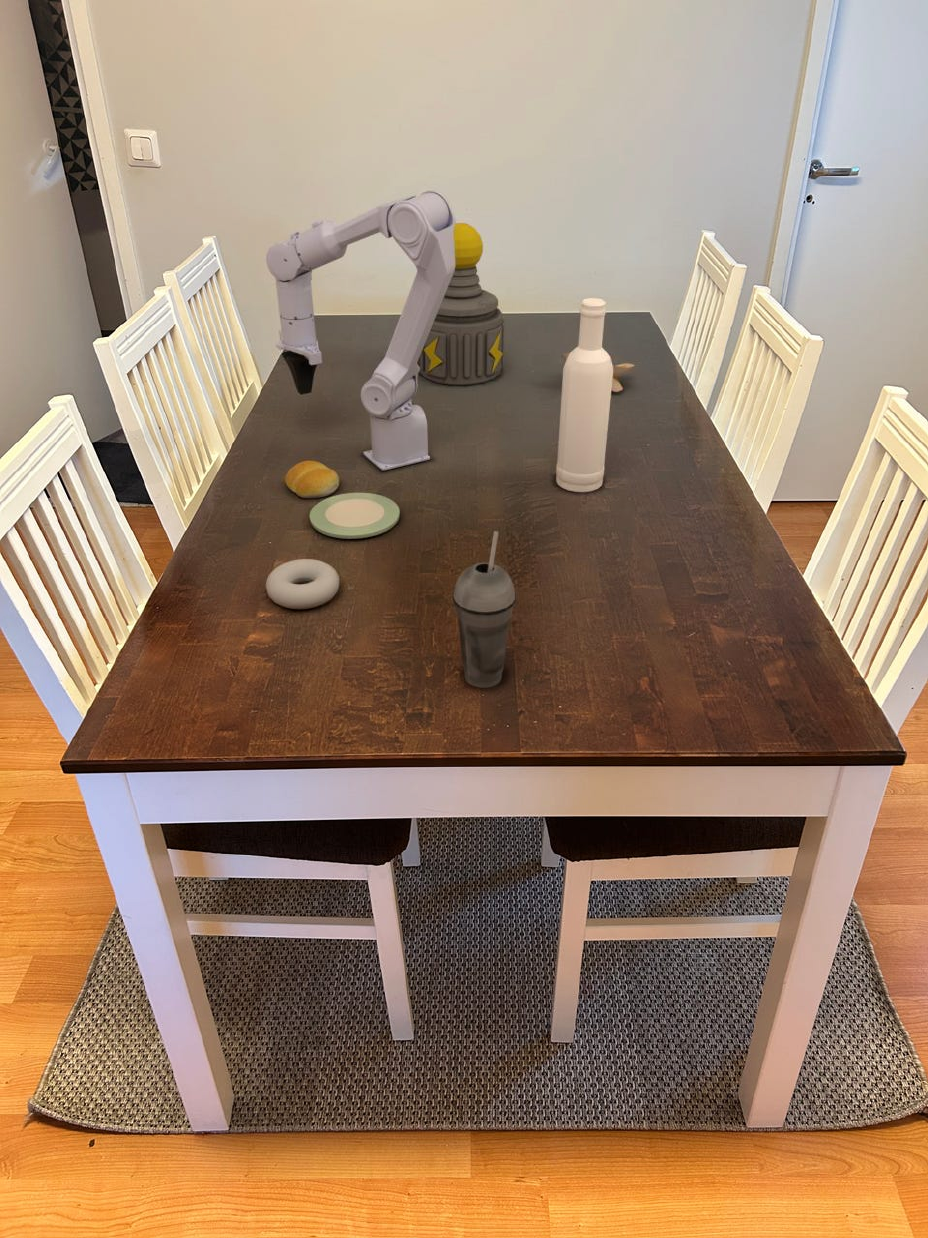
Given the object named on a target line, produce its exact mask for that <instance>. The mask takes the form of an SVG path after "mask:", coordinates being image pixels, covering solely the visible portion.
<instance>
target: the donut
mask: <svg viewBox="0 0 928 1238" xmlns="http://www.w3.org/2000/svg"><path fill="white" fill-rule="evenodd" d="M340 582H341V581H340V577H339V575H338V572H337V570H336V569H335V568H334V567H333V566H331V565H330V564H328V563H327V562H325V561H322V560H318V559H313V558H300V559H294V560H290V561H287V562H284V563H282V564H280V565H278V566H277V567H275V568H273V570H272V571H271V572H270V573H269V574H268V576H267V579H266V582H265V590H266V592H267V595H268V597H269V599H271V600H272V601H273V603H275V604H277V605H278V606H281V607H283V608H286V609H292V610H308V609H313V608H317V607H320V606H322V605H324V604H325V603H328V602H329V601H330V600H332V599H333V598H334V597H335V596H336V594H337V593H338V591H339V587H340Z"/></svg>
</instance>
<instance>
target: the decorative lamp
mask: <svg viewBox="0 0 928 1238" xmlns="http://www.w3.org/2000/svg"><path fill="white" fill-rule="evenodd" d="M453 234H454V250H455V270H454V273H453V276H452V278H451V281H450V283H449V286H448V288H447V290H446V293H445V295H444V298H443V300H442V303H441V305H440V308H439V310H438V313H437V315H436V317H435V320H434V322H433V325H432V327H431V330H430V332H429V335H428V337H427V340H426V342H425V344H424V347H423V349H422V352H421V354H420V357H419V359H418V362H417V364H418V366H419V367H420V370H419V372H420V374H421V376H422V377H424V378H425V379H427V380H428V381H431V382H433V383H435V384H441V385H445V386H460V387H462V386H475V385H480V384H484V383H487V382H491V381H493V380H494V379H495V378H497V377H498V376H499V375H500V373H501V371H502V367H504V366H503V365H504V349H505V320H504V319H503V313H502V311H501V309H500V308H498V307H499V299H498V297H497V296H496V295H495V294H493V293H491V292H489V291H487V290H485V289H483V288H482V285H481V284H480V276H479V275H478V274H477V273H478V269H477V265H478V263H479V262H480V260H481V257H482V255H483V252H484V242H483V239H482V236H481V234H480V233H479V232H478V231H477V229H476V228H475V227H474V226H472V225H470V224H468V223H466V222H456V224H455V228H454V232H453Z"/></svg>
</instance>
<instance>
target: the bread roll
mask: <svg viewBox="0 0 928 1238" xmlns="http://www.w3.org/2000/svg"><path fill="white" fill-rule="evenodd" d="M284 481H285V482H284V483H285V484H286V486H287V488H288V489H289V490H290V491H292V492H293V493H295V495H297V496H298V497H300V498H303V499H320V498H324V497H328V496H330V495H331V494H332V495H333V493H335V492H336V490H337V489H338V488H339V486H340V478H339V475H338V473H337V472H336V471H335V470H333V469H331V468H329V467H327V466H326V465H324V464H323V463H321V462H319V461H316V460H304V461H301V462H298V463H297V464H296V463H295V465H294V466H292V467H291V468H290V469H289V470H288V471H287V473H286V475H285V477H284Z"/></svg>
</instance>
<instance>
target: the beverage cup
mask: <svg viewBox="0 0 928 1238" xmlns="http://www.w3.org/2000/svg"><path fill="white" fill-rule="evenodd" d="M498 537H499V531H497V530H494V531H493V536H492V541H491V549H490V553H489V560H488V562H486V561H485V562H477V563H474V564H472V565H470V566H468V567H467V568H465V569H464V570H463V571H462V573H461V574H460V575H459V577H458V578H457V580H456V582H455V586H454V591H453V595H452V601H453V603H454V609H455V613H456V615H457V622H458V633H459V641H460V651H461V659H462V660H461V661H462V668H463V673H464V679H465V681H466V682H467V684H469V685H471V686H473V687H475V688H479V689H480V688H481V689H487V688H493V687H495V686H496V685H498V684H499V683H500V682H501V680H502V679H503V677H502V675H503V670H504V669H505V667H504V666H505V659H506V654H507V653H506V652H507V644H508V638H509V631H510V630H509V629H510V623H511V618H512V616H513V612H514V608H515V604H516V601H517V595H516V592H515V585H514V583H513V581H512V579H511V576H510V575H509V574H508V572H507V571H506V570H505V569H503V568H502V567H501V566H500V565H497V564H496V563H495V556H496V551H497V545H498V540H499V539H498Z"/></svg>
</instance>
